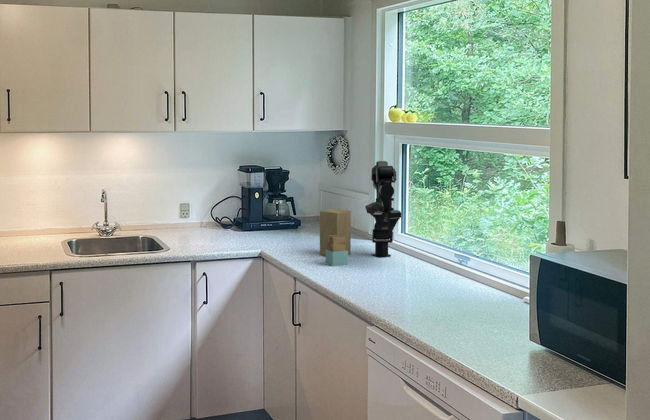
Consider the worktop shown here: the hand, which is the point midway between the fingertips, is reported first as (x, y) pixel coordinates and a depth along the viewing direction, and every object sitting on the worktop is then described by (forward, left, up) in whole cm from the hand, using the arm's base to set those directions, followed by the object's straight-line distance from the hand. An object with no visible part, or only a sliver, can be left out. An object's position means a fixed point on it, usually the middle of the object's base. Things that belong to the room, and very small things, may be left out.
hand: (384, 232), depth 342 cm
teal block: (-5, -20, -13) cm, 24 cm away
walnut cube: (-5, -20, -7) cm, 22 cm away
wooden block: (-24, -12, -13) cm, 30 cm away
